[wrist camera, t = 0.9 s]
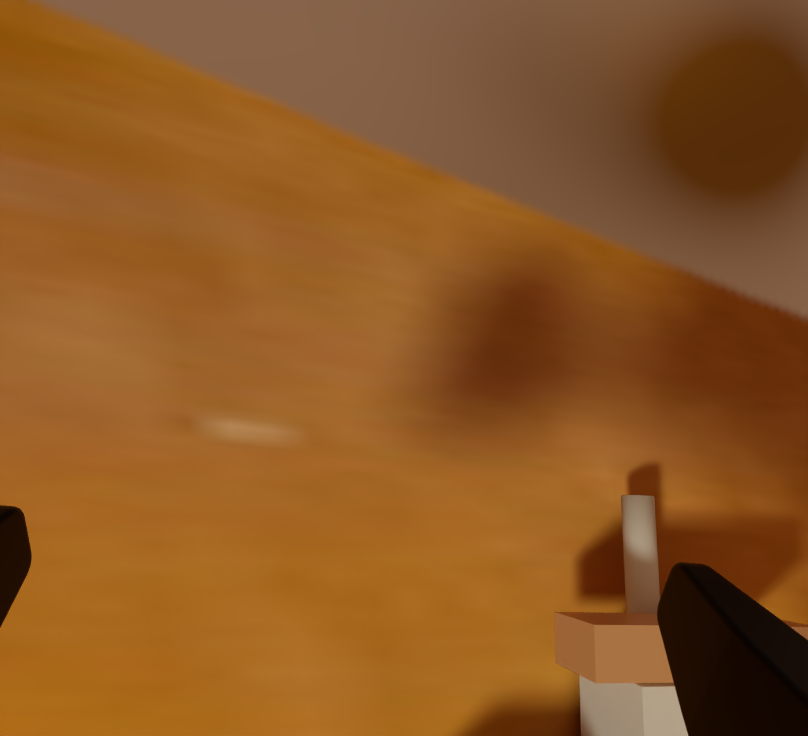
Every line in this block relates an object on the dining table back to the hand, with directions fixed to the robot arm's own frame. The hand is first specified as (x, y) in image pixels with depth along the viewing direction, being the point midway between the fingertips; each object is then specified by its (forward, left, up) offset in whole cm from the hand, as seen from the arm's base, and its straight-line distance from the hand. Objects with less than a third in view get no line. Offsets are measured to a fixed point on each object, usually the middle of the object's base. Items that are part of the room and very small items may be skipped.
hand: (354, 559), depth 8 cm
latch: (-3, -13, -12) cm, 17 cm away
